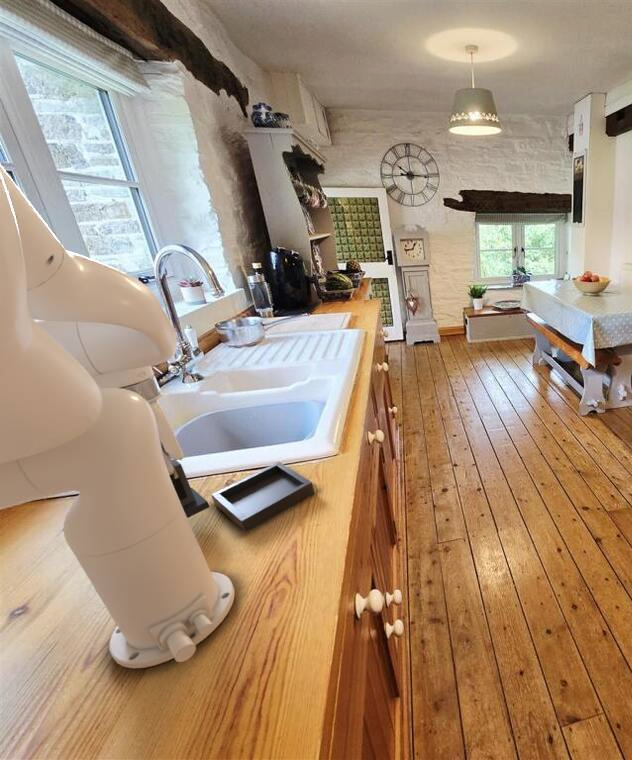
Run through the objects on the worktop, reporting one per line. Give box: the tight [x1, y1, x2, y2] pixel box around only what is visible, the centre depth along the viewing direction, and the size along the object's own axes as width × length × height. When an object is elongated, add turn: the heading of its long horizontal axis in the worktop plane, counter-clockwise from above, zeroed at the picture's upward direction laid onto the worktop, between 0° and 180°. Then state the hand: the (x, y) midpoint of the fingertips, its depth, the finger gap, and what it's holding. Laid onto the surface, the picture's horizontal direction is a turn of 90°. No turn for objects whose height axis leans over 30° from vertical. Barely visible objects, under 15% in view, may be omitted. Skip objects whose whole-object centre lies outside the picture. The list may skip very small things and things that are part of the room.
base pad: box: [210, 461, 315, 533], centre depth 73 cm, size 12×12×2 cm
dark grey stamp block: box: [171, 458, 210, 519], centre depth 65 cm, size 7×7×8 cm
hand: (170, 497), depth 66 cm, fingers closed on dark grey stamp block, 3 cm apart
